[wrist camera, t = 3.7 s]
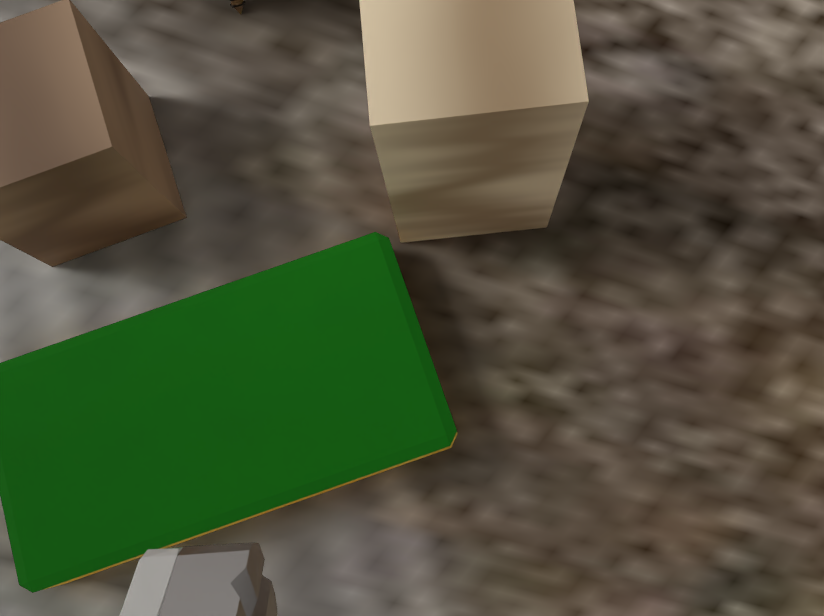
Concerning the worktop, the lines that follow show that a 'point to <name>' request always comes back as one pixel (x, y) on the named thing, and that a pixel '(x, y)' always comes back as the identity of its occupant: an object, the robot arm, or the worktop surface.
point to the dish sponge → (214, 411)
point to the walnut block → (75, 142)
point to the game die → (237, 5)
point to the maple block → (472, 110)
